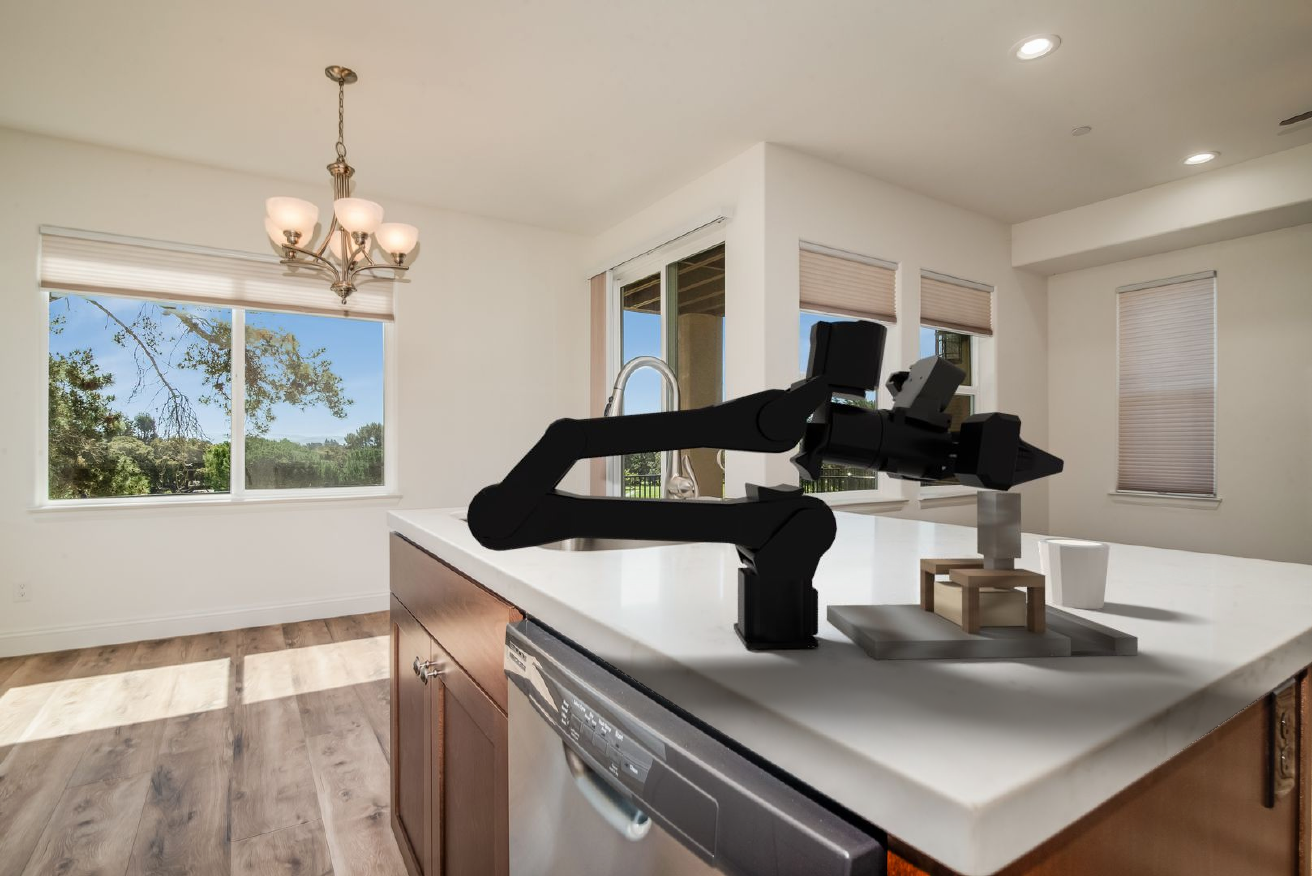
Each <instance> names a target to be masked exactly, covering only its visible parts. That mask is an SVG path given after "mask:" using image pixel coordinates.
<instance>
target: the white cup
mask: <svg viewBox="0 0 1312 876" xmlns="http://www.w3.org/2000/svg"><path fill="white" fill-rule="evenodd" d="M1037 543H1038V551H1039V561H1040V571H1041V574H1042V575H1045V602H1046V601H1047V602H1046V603H1049V604H1052V605H1055V606H1059V605H1060V607H1064V608H1071V609H1082V610H1097V609H1102V608H1103V607H1105V606H1104V604H1105V595H1106V584H1107V576H1108V566H1109V565H1108V564H1109V556H1110V547H1111V545H1109V544H1107V543H1104V542H1099V541H1094V540H1086V539H1076V538H1059V537H1058V538H1044V539H1038V540H1037Z"/></svg>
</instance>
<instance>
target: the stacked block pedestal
mask: <svg viewBox="0 0 1312 876" xmlns="http://www.w3.org/2000/svg"><path fill="white" fill-rule="evenodd" d="M976 515H977V516H976V517H977V518H976V520H977V521H976V522H977V524H976V527H977V529H976V531H977V533H976V534H977V535H976V538H977V540H976V542H977V543H976V544H977V547H976V549H977V550H976V551H977V552H976V553H977V554H980V555H983V558H984V569H1015V559H1022V493H1021V492H1014V491H999V490H977V491H976ZM934 612H935V613H937V614H939V615H941V616H943V617H945V618H946V619H948V620H950V621H952V622H954V623H956V624H958V625H960V626H962V585H960V584H958V583H955V582H953V581H950V580H948V581H947V580H945V581H943V580H942V581H940V580H939V581H936V580H935V581H934ZM979 626H1027V591H1023V590H1021V589H1018V588H1016V587H979Z"/></svg>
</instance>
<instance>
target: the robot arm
mask: <svg viewBox="0 0 1312 876" xmlns="http://www.w3.org/2000/svg"><path fill="white" fill-rule="evenodd" d="M810 327H811V328H810V331H809V332H810V333H809V343H810V347H809V354H808V359H807V367H806V372H805V378H803V379H800V380H798V381H795V382H793V383H791V384H790V387H788V388H786V389H781V388H780V389H779V388H769V389H767V390H762V391H757V392H756V393H752V394H748V395H743V396H740V397H737V398H733V399H730V400H726V401H722V402H719V403H715V404H711V405H708V406H705V407H701V408H691V409H681V410H679V409H678V410H671V411H669V410H668V411H660V412H659V411H657V412H647V413H636V414H635V413H633V414H626V415H625V414H622V415H614V416H601V417H593V418H592V417H591V418H590V417H589V418H581V419H578V418H572V417H562V418H559V419H556V420H554V421H553V422H551V423H550V424H549V426H548V427H547V428H546V429H545V430H544V431H545V432H544V433H543V435H542V436H541V437H540V439H539V440H537V442H536V443H535V444H534V446H533V447H532V448H531V449H530V450H529V451H527V453H526V454H525V455H524V456H523V457H522V458H521V459H520V460H519V461H518V462H517V463H516V464H515V466H513V468H512V469H511V470H510V471H509V472H508V473H507V475H506V476H505V477H504V478H503V479H502V481H500V482H496V483H492V484H490V485H488V486H487V485H486V486H485V487H483V488H481V490H479V491H478V492H477V493H476V494H475V495H474V496H473V497H472V499H471V501H470V503H469V505H468V508H467V509H468V510H467V513H466V518H467V527H468V529H469V531H470V534H471V535H472V538H474V539H475V540H476V541H477V543H479V544H480V546H481V547H482V548H485V549H487V550H491V551H494V552H495V551H496V552H501V551H502V552H504V551H505V552H506V551H512V550H519V549H526V548H533V547H540V546H544V545H549V544H554V543H558V542H564V541H567V540H568V541H569V540H574V539H588V540H589V539H592V540H593V539H594V540H599V539H600V540H620V541H621V540H622V541H623V540H624V541H625V540H626V541H628V540H629V541H649V542H651V541H652V542H654V541H655V542H678V543H679V542H680V543H681V542H684V543H705V544H706V543H711V544H714V543H715V544H730V545H734V546H735V550H736V552H737V556H738V558H739V561H740V563H742V565H743V564H744V565H745V566H747V567H737V622H734V623H733V630H734V632H735V633H736V634H737V636H738V638H739V639H740V640H741V643H743V645H744V646H745V648H748V649H787V648H788V649H789V648H790V649H793V648H794V649H796V648H797V649H798V648H799V649H800V648H805V649H806V648H818V647H819V646H820V641H819V640H818V639H817V638H816V637H815V636H817V635H818V633H819V591H818V589H816V588H815V586H813V580H814V577H815V575H816V571H817V569H818V565H819V563H820V561H821V558H822V557H823V556H824V555H825V553H827V552H828V551H829V550H830V549H831V547H832V545H833V543H834V542H835V540H836V536H837V531H838V525H837V518H836V516H835V514H834V512H833V510H832V508H831V507H830V506H829V504H827V502H825V501H824V500H823V499H822V498H819V497H816V496H813V495H808V494H804V493H805V491H806V488H805V487H801V486H798V485H797V486H796V485H793V484H786V483H780V484H777V485H776V486H775V485H774V486H765V485H764V486H763V485H760V484H759V485H758V484H755V483H754V484H753V483H750V482H745V483H744V489H745V496H743V497H737V498H732V499H726V500H714V499H713V500H712V499H692V498H691V499H688V498H687V499H686V498H667V497H666V498H663V497H662V498H660V497H659V498H658V497H637V496H636V497H635V496H612V495H611V496H609V495H607V496H606V495H587V494H586V495H585V494H584V495H582V494H578V493H574V492H573V493H572V492H569V491H566V490H561V489H558V488H557V487H558V486H559V484H560V483H562V480H563V479H564V478H565V477H566V475H568V473H569V472H570V471H571V469H572V468H574V466H575V464H576V463H577V462H578V461H581V460H584V459H585V460H586V459H596V458H605V457H608V458H609V457H617V456H628V455H636V454H637V455H638V454H651V453H652V454H653V453H660V452H663V453H664V452H671V451H672V452H673V451H682V450H683V451H684V450H691V449H693V450H694V449H709V450H717V451H718V450H719V451H721V450H722V451H732V452H742V453H755V454H784V453H787V452H789V451H792V450H794V449H795V448H796V447H797V445H798V444H799V443H800V448H799V449H800V450H799V451H798V452H797V453H796V454H794V455H793V456H791V457H790V458H789V462H790V463H791V464H792V465H793V466H795V468H796V470H797V471H798V473H799V474H800V477H801V478H802V479H803V480H807V481H813V482H817V481H819V480H820V479H821V474H822V468H823V463H824V464H829V465H830V464H831V465H837V466H843V467H848V468H849V467H850V468H855V469H861V470H865V471H871V472H874V473H875V472H877V473H886V475H887V476H888V478H889V479H895V480H900V481H905V482H906V481H907V482H922V483H931V482H936V481H942V480H947V479H952V478H957V480H958V481H959V482H960V484H961V485H962V486H964V487H970V488H975V489H983V490H989V491H1005V492H1009V490H1010V489H1011V488H1013V487H1015V486H1018V485H1022V484H1025V483H1028V482H1032V481H1035V480H1039V479H1043V478H1046V477H1050V476H1053V475H1056V474H1060V473H1062V472H1063V470H1064V465H1065V461H1064V460H1063V458H1060V457H1058V456H1056V455H1054V454H1052V453H1049V452H1047V451H1045V450H1043V449H1041V448H1039V447H1037V446H1034V445H1033V444H1031V443H1029V442H1027V441H1025V440H1023V439H1022V438H1021V436H1020V435H1021V427H1022V420H1021V418H1020V417H1019V415H1016V414H1011V413H1010V414H1009V413H1005V412H999V411H992V412H981V413H974V414H973V413H972V414H971V415H969V417H967V418H966V419H964V420H963V421H962V422H960V428H959V430H953V431H949V429H951V428H952V422H953V416H954V414H953V413H947V412H945V411H946V410H947V409H948V407H949V405H950V404H951V401H952V400H953V398H954V396H955V394H956V393H957V390H958V388H959V387H960V385H962V384H964V382H965V380H966V378H967V371H966V370H964V369H962V368H960V367H959V366H957V365H955V364H954V363H952V362H950V361H948V360H946V359H945V358H943V357H942V356H939V355H938V354H934V355H930V356H927V357H925V358H924V357H923V358H921V359H918V360H917V361H916V362H915V363H914V364H911V365H910V366H909V367H908V369H909V371H905V370H897V371H895V372H891V373H890V374H889V376H888V378H887V380H886V382H885V383H884V385H885V387H886V389H887V390H888V392H889V393H890V395H891V397H892V399H891V401H892V402H894V403H893V405H892V408H891V409H887V408H873V407H865V406H859V405H854V404H847V403H842V402H837V401H836V402H835V401H833V398H835V399H842V400H848V401H849V400H852V401H864V400H866V397H867V392H872V393H873V392H875V391H877V390H879V388H880V382H881V374H882V368H883V363H884V355H885V348H886V342H887V334H888V327H887V326H885V325H883V324H881V323H878V322H876V321H870V320H864V319H859V320H857V321H852V320H849V321H848V320H840V321H839V320H838V321H836V320H835V321H830V322H829V321H824V320H818V321H817V322H815V323H813V324H812V325H811V326H810ZM810 417H811V421H810V422H808V419H809V418H810Z"/></svg>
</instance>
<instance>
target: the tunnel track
mask: <svg viewBox="0 0 1312 876" xmlns="http://www.w3.org/2000/svg"><path fill="white" fill-rule="evenodd" d="M919 573H920V576H919V581H920V582H919V583H920V584H919V586H920V589H919V591H920V592H919V598H920V599H919V604H918V603H917V604H910V603H909V604H848V605H847V604H842V605H841V604H840V605H834V604H833V605H831V604H829V605H826V621H827V622H828V623H829V624H831V625H832V626H833V627H834V628H835V629H837V630H838V631H840V632H841V633H842V634H843V635H845V637H847V638H849V639H850V640H851V641H852V642H853V643H854V644H855V645H857V646H858V647H859V648H860V649H861V650H863V651H864V652H866V653H867V654H868V655H869V656H871V657H872V658H873V659H874V660H919V659H920V660H923V659H925V660H927V659H931V660H932V659H975V658H977V659H979V658H980V659H981V658H984V659H985V658H987V659H988V658H1032V657H1033V658H1039V657H1041V658H1043V657H1088V656H1089V657H1090V656H1091V657H1093V656H1094V657H1096V656H1098V657H1099V656H1101V657H1102V656H1103V657H1104V656H1105V657H1106V656H1138V655H1139V652H1138V651H1139V649H1138V648H1139V646H1138V645H1139V644H1138V641H1139V640H1138V639H1139V637H1137V636H1135V635H1132V634H1129V633H1127V632H1123V631H1121V630H1118V629H1116V628H1112V627H1110V626H1108V625H1105V624H1101V623H1099V622H1096V621H1094V620H1091V619H1088V618H1085V617H1082V616H1079V615H1077V614H1074V613H1071V612H1068V611H1066V610H1063V609H1059V608H1057V607H1055V606H1052V605H1049V604H1046V601H1045V575H1042V573H1038V572H1035V571H1032V570H1028V569H1026V568H1014V569H984V557H982V558H981V557H978V558H977V557H974V558H971V557H970V558H966V557H965V558H920V559H919ZM947 575H948V576H949V578H948V579H949V580H948V581H953V582H955V583H958V584H960V585H962V626H960V625H958V624H956V623H954V622H952V621H950V620H948V619H946V618H945V617H943V616H941V615H939V614H937V613H935V612H934V581H936V576H947ZM979 587H1015V588H1026V598H1027V626H979Z"/></svg>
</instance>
